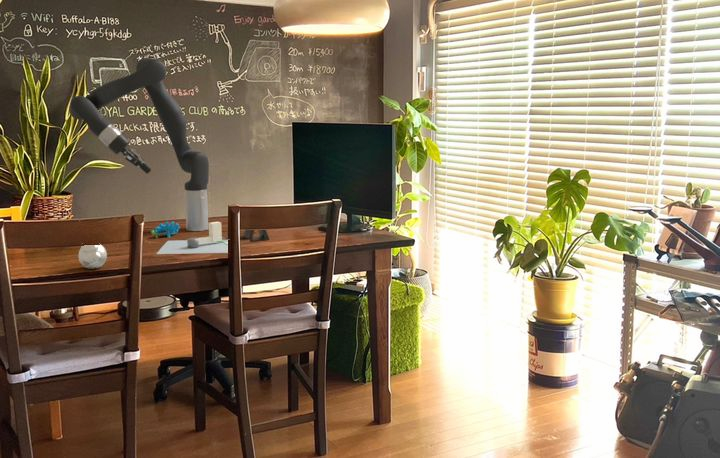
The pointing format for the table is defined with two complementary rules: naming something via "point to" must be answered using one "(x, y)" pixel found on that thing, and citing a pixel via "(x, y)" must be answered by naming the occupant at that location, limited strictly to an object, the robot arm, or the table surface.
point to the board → (182, 248)
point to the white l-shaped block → (214, 236)
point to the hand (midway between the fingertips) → (149, 171)
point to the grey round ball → (92, 256)
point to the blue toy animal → (166, 229)
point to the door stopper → (263, 236)
